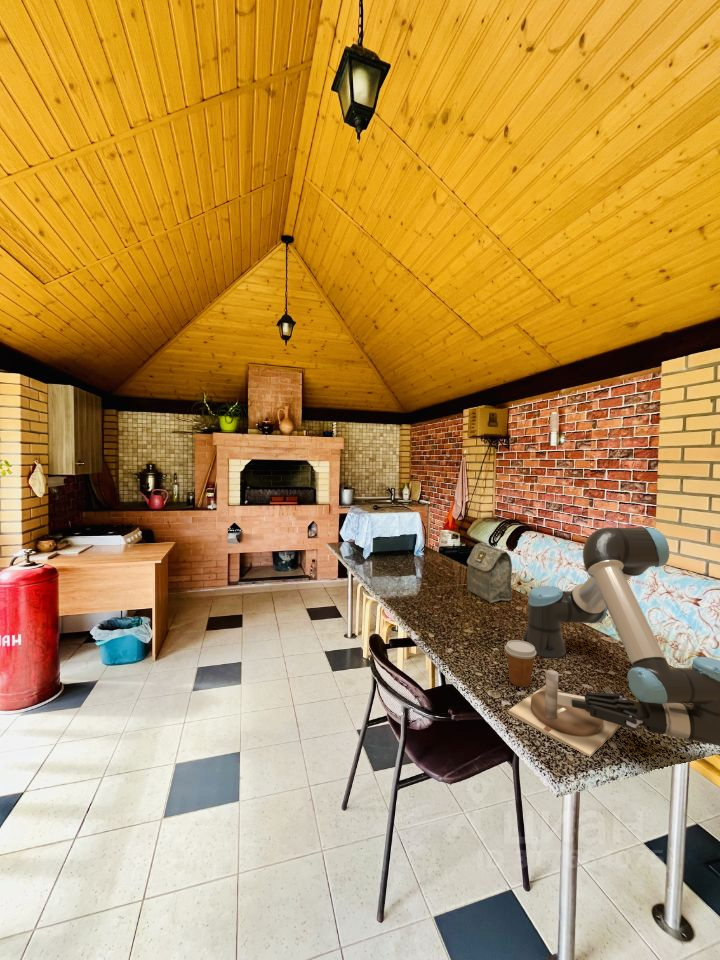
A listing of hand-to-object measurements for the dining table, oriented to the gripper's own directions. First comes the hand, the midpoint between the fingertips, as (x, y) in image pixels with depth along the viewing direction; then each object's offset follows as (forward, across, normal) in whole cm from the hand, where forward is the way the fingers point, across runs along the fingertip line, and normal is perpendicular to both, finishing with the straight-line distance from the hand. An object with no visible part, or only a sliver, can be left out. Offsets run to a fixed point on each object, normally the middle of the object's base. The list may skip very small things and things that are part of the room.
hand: (557, 697), depth 108 cm
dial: (-3, +7, -8) cm, 11 cm away
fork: (-21, +19, -9) cm, 30 cm away
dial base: (-3, +7, -9) cm, 12 cm away
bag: (+23, +106, -8) cm, 109 cm away
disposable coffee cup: (+9, +22, -9) cm, 25 cm away
